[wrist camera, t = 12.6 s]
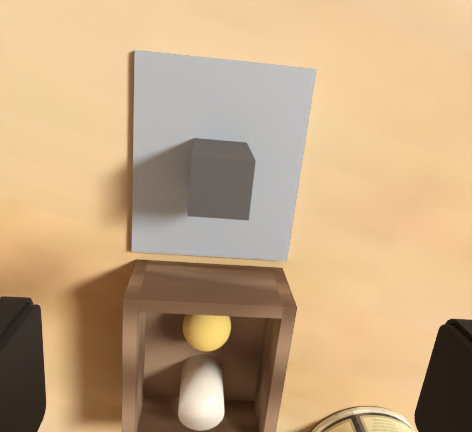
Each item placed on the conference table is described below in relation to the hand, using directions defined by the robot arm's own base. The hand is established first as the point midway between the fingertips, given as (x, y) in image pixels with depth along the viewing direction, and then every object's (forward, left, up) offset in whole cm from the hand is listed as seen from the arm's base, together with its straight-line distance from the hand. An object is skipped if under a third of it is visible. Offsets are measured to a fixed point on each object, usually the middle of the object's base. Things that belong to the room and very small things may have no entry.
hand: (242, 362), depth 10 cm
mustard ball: (-10, 0, -17) cm, 20 cm away
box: (-12, 0, -18) cm, 22 cm away
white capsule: (-15, 0, -17) cm, 23 cm away
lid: (+1, 0, -19) cm, 18 cm away
